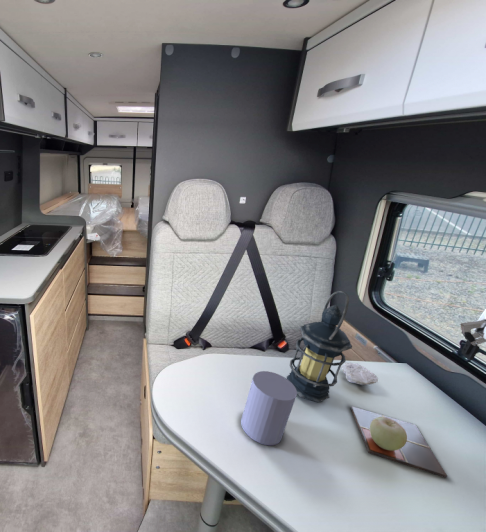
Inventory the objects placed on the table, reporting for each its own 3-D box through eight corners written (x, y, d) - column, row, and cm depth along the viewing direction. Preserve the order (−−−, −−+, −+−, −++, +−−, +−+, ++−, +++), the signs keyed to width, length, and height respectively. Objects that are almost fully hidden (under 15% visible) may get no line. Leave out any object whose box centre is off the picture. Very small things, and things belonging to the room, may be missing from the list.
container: (238, 435, 80) (251, 389, 75) (243, 408, 89) (254, 366, 84) (281, 453, 76) (297, 406, 71) (281, 423, 85) (296, 380, 80)
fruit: (406, 460, 76) (419, 437, 73) (372, 450, 78) (383, 427, 75) (392, 435, 83) (403, 413, 80) (361, 427, 85) (371, 405, 82)
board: (414, 427, 88) (415, 424, 87) (445, 478, 74) (447, 475, 73) (350, 408, 93) (351, 405, 92) (368, 453, 78) (369, 450, 78)
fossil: (354, 383, 99) (342, 355, 107) (346, 392, 104) (334, 365, 111) (383, 385, 98) (369, 357, 106) (373, 394, 103) (360, 366, 110)
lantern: (280, 371, 106) (309, 279, 94) (323, 383, 103) (359, 288, 90) (285, 400, 94) (320, 297, 81) (334, 414, 90) (378, 309, 78)
